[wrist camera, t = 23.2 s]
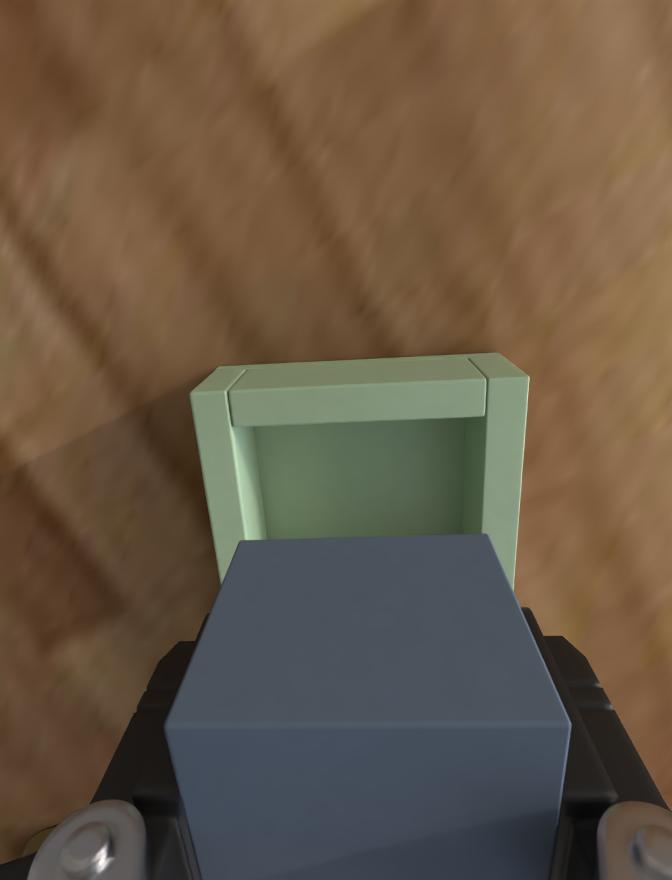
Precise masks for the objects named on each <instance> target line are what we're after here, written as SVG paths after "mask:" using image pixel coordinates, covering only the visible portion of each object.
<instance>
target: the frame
mask: <svg viewBox="0 0 672 880" xmlns="http://www.w3.org/2000/svg"><path fill="white" fill-rule="evenodd" d="M528 390H529V376H528V375H526V374H525V373H524V372H522V371H521V370H520V369H519V368H517V367H516V366H515V365H513V364H512V363H511V362H509V361H508V360H507V359H506V358H504V357H503V356H501V355H500V354H499V353H478V354H458V355H438V356H418V357H397V358H377V359H357V360H337V361H317V362H297V363H277V364H256V365H236V366H219V367H218V368H217V369H215V371H214V372H213V373H212V374H210V375H209V376H208V377H207V378H206V379H205V380H204V381H202V382H201V383H200V384H199V385H198V386H197V387H196V388H194V389H193V390H192V391H191V392H190V394H189V396H190V402H191V408H192V414H193V420H194V426H195V432H196V438H197V444H198V451H199V457H200V463H201V469H202V475H203V481H204V487H205V493H206V499H207V505H208V511H209V517H210V523H211V529H212V536H213V542H214V548H215V554H216V560H217V566H218V572H219V578H220V584H222V582H223V580H224V577H225V575H226V572H227V570H228V567H229V565H230V563H231V560H232V558H233V555H234V553H235V550H236V548H237V545H238V543H239V541H241V540H269V539H305V538H341V537H376V536H412V535H448V534H483V533H485V534H488V535H489V537H490V539H491V541H492V544H493V546H494V548H495V551H496V553H497V555H498V557H499V560H500V562H501V564H502V567H503V569H504V571H505V573H506V576H507V578H508V580H509V583H510V585H511V587H512V589H513V588H514V575H515V562H516V549H517V535H518V522H519V509H520V496H521V482H522V469H523V456H524V443H525V430H526V416H527V403H528Z"/></svg>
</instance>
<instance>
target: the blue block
mask: <svg viewBox="0 0 672 880" xmlns="http://www.w3.org/2000/svg"><path fill="white" fill-rule="evenodd" d="M164 731H165V735H166V739H167V743H168V747H169V752H170V756H171V760H172V764H173V768H174V772H175V776H176V780H177V785H178V789H179V793H180V797H181V801H182V805H183V809H184V813H185V817H186V822H187V826H188V830H189V834H190V838H191V842H192V846H193V850H194V855H195V859H196V863H197V867H198V871H199V875H200V879H201V880H550V878H551V871H552V864H553V856H554V849H555V842H556V835H557V827H558V820H559V813H560V806H561V798H562V791H563V784H564V777H565V769H566V762H567V755H568V748H569V740H570V733H571V722H570V719H569V717H568V715H567V713H566V710H565V708H564V706H563V703H562V701H561V699H560V697H559V694H558V692H557V690H556V688H555V685H554V683H553V681H552V678H551V676H550V674H549V672H548V669H547V667H546V665H545V662H544V660H543V658H542V656H541V653H540V651H539V649H538V646H537V644H536V642H535V640H534V637H533V635H532V633H531V630H530V628H529V626H528V624H527V621H526V619H525V617H524V614H523V612H522V610H521V608H520V605H519V603H518V601H517V599H516V596H515V594H514V592H513V589H512V587H511V585H510V583H509V580H508V578H507V576H506V573H505V571H504V569H503V567H502V564H501V562H500V560H499V557H498V555H497V553H496V551H495V548H494V546H493V544H492V541H491V539H490V537H489V535H488V534H485V533H483V534H448V535H412V536H376V537H341V538H305V539H269V540H241V541H239V543H238V545H237V548H236V550H235V553H234V555H233V558H232V560H231V563H230V565H229V567H228V570H227V572H226V575H225V577H224V580H223V582H222V584H221V587H220V589H219V592H218V594H217V597H216V599H215V602H214V604H213V606H212V609H211V611H210V614H209V616H208V619H207V621H206V624H205V626H204V628H203V631H202V633H201V636H200V638H199V641H198V643H197V645H196V648H195V650H194V653H193V655H192V658H191V660H190V663H189V665H188V667H187V670H186V672H185V675H184V677H183V680H182V682H181V685H180V687H179V689H178V692H177V694H176V697H175V699H174V702H173V704H172V707H171V709H170V711H169V714H168V716H167V719H166V721H165V724H164Z"/></svg>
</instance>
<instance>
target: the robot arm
mask: <svg viewBox="0 0 672 880" xmlns="http://www.w3.org/2000/svg"><path fill="white" fill-rule="evenodd" d="M520 608H521V610H522V612H523V614H524V617H525V619H526V621H527V624H528V626H529V628H530V630H531V633H532V635H533V637H534V640H535V642H536V644H537V646H538V649H539V651H540V653H541V656H542V658H543V660H544V662H545V665H546V667H547V669H548V672H549V674H550V676H551V678H552V681H553V683H554V685H555V688H556V690H557V692H558V694H559V697H560V699H561V701H562V703H563V706H564V708H565V710H566V713H567V715H568V717H569V719H570V722H571V733H570V740H569V748H568V755H567V762H566V769H565V777H564V784H563V791H562V798H561V806H560V813H559V820H558V827H557V835H556V842H555V849H554V856H553V864H552V871H551V878H550V880H672V812H671V810H670V809H669V808H668V806H667V805H666V803H665V801H664V800H663V798H662V796H661V795H660V793H659V791H658V789H657V787H656V785H655V784H654V782H653V780H652V778H651V776H650V774H649V772H648V771H647V769H646V767H645V765H644V763H643V761H642V760H641V758H640V756H639V754H638V752H637V750H636V749H635V747H634V745H633V743H632V741H631V739H630V738H629V736H628V734H627V732H626V730H625V728H624V727H623V725H622V723H621V721H620V719H619V717H618V716H617V714H616V712H615V710H612V707H611V703H610V701H609V699H608V697H607V695H606V694H605V692H604V690H603V688H600V684H599V681H598V679H597V677H596V675H595V673H594V672H593V670H592V668H591V666H590V664H589V662H588V661H587V659H586V657H585V656H584V655H583V654H582V653H581V652H579V651H578V650H577V649H576V648H575V647H574V646H573V645H572V644H571V643H570V642H568V641H567V640H566V639H565V638H564V637H563V636H543V634H542V632H541V630H540V628H539V626H538V624H537V622H536V619H535V617H534V615H533V613H532V611H531V610H530V609H529V608H528V607H520ZM209 614H210V613H208V614H207V615H206V617H205V619H204V621H203V623H202V626H201V628H200V631H199V633H198V635H197V638H196V640H195V641H179V642H178V643H177V644H176V645H175V646H174V647H173V648H172V649H171V650H170V651H169V652H168V653H167V654H166V655H165V656H164V657H163V658H162V659H161V660H160V661H159V662H158V664H157V667H156V669H155V671H154V673H153V675H152V677H151V679H150V681H149V683H148V685H147V691H146V692H144V694H143V696H142V698H141V700H140V702H139V704H138V706H137V712H136V713H134V714H133V716H132V718H131V721H130V723H129V725H128V727H127V729H126V731H125V733H124V735H123V737H122V739H121V741H120V743H119V745H118V748H117V750H116V752H115V754H114V756H113V758H112V760H111V762H110V764H109V766H108V768H107V770H106V772H105V775H104V777H103V779H102V781H101V783H100V785H99V787H98V789H97V791H96V793H95V795H94V797H93V799H92V801H91V802H90V804H89V805H87V806H85V807H83V808H81V809H79V810H77V811H76V812H74V813H73V814H71V815H70V816H68V817H67V818H66V819H65V820H64V821H62V822H61V823H60V824H59V825H58V826H57V827H56V828H55V829H54V830H53V831H52V832H51V833H50V835H49V836H48V837H47V838H46V840H45V841H44V842H43V844H42V845H41V847H40V849H39V850H38V851H36V852H34V853H32V854H30V855H27V856H25V857H22V858H19V859H16V860H13V861H10V862H7V863H4V864H1V865H0V880H201V879H200V875H199V871H198V867H197V863H196V859H195V855H194V850H193V846H192V842H191V838H190V834H189V830H188V826H187V822H186V817H185V813H184V809H183V805H182V801H181V797H180V793H179V789H178V785H177V780H176V776H175V772H174V768H173V764H172V760H171V756H170V752H169V747H168V743H167V739H166V735H165V731H164V724H165V721H166V719H167V716H168V714H169V711H170V709H171V707H172V704H173V702H174V699H175V697H176V694H177V692H178V689H179V687H180V685H181V682H182V680H183V677H184V675H185V672H186V670H187V667H188V665H189V663H190V660H191V658H192V655H193V653H194V650H195V648H196V645H197V643H198V641H199V638H200V636H201V633H202V631H203V628H204V626H205V624H206V621H207V619H208V616H209Z"/></svg>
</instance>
